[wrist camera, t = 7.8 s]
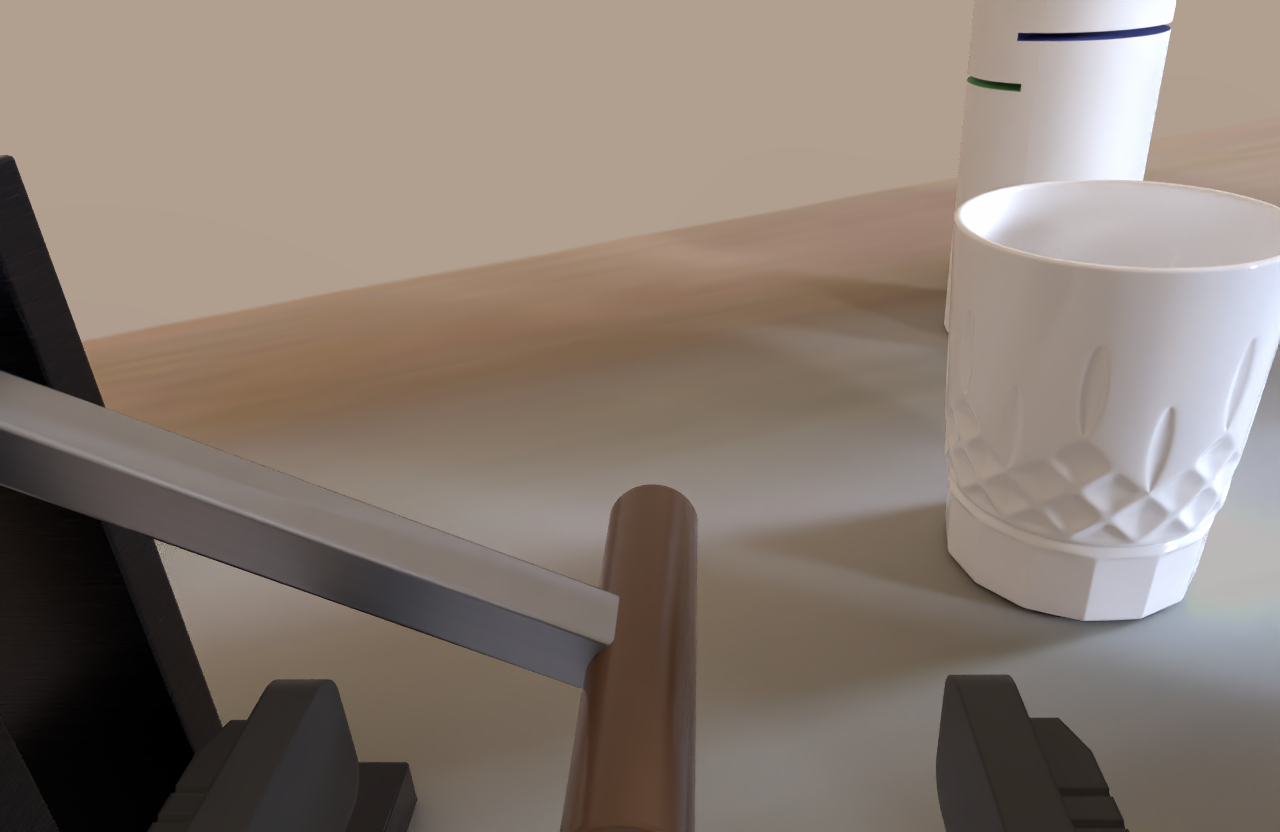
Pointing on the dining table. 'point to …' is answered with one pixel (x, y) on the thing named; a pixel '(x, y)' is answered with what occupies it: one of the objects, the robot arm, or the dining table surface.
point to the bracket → (96, 617)
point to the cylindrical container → (1059, 93)
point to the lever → (417, 583)
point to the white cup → (1102, 385)
